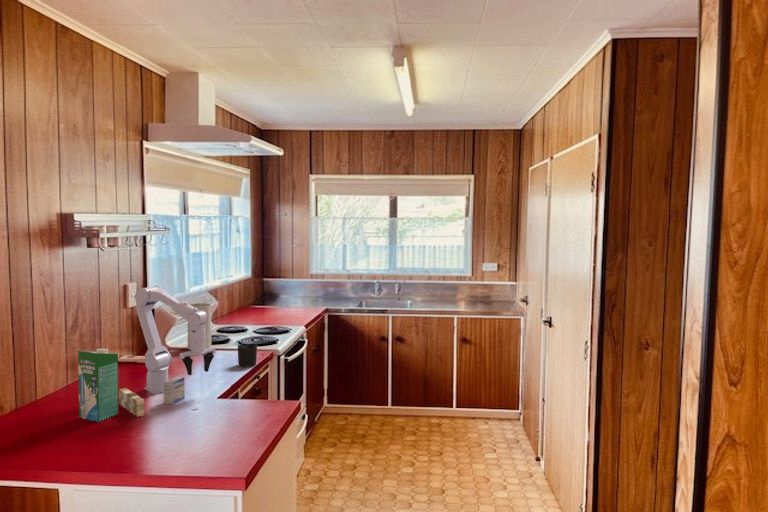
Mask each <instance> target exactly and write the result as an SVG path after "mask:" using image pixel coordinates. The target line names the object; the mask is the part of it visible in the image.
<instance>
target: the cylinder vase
mask: <svg viewBox="0 0 768 512" xmlns="http://www.w3.org/2000/svg"><path fill="white" fill-rule="evenodd" d="M189 305H191V306H192V307H194V308H197V310H204V311H205V312H206V313H207V314H208V321H207V322H206V323H205V349H207V348H210V347H211V348H212V304H211V303H207V302H204V303H203V302H196V303H189ZM188 349H189V350H188ZM187 350H188V351H190V350H191V330H190V325H189V324H188V323H187Z"/></svg>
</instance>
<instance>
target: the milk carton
mask: <svg viewBox="0 0 768 512" xmlns="http://www.w3.org/2000/svg"><path fill="white" fill-rule="evenodd" d="M77 353H78V355H77V357H78V358H77V361H78V362H77V363H78V369H77V370H78V418H83V419H88V420H92V421H91V422H93V421H96V422H95V423H99V421H100V422H102V421H101V420H103V421H105V420H107V419H110V418H112V417H115V416H117V415H119V358H118V357H119V354H118V353H116V352H115V353H114V352H109V349H107V348H96V350H94V351H93V350H78V351H77ZM116 414H117V415H116ZM114 415H115V416H114ZM111 416H112V417H111ZM109 417H110V418H109ZM106 418H107V419H106ZM83 419H82V420H83ZM104 419H105V420H104ZM88 420H87V421H88Z"/></svg>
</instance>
